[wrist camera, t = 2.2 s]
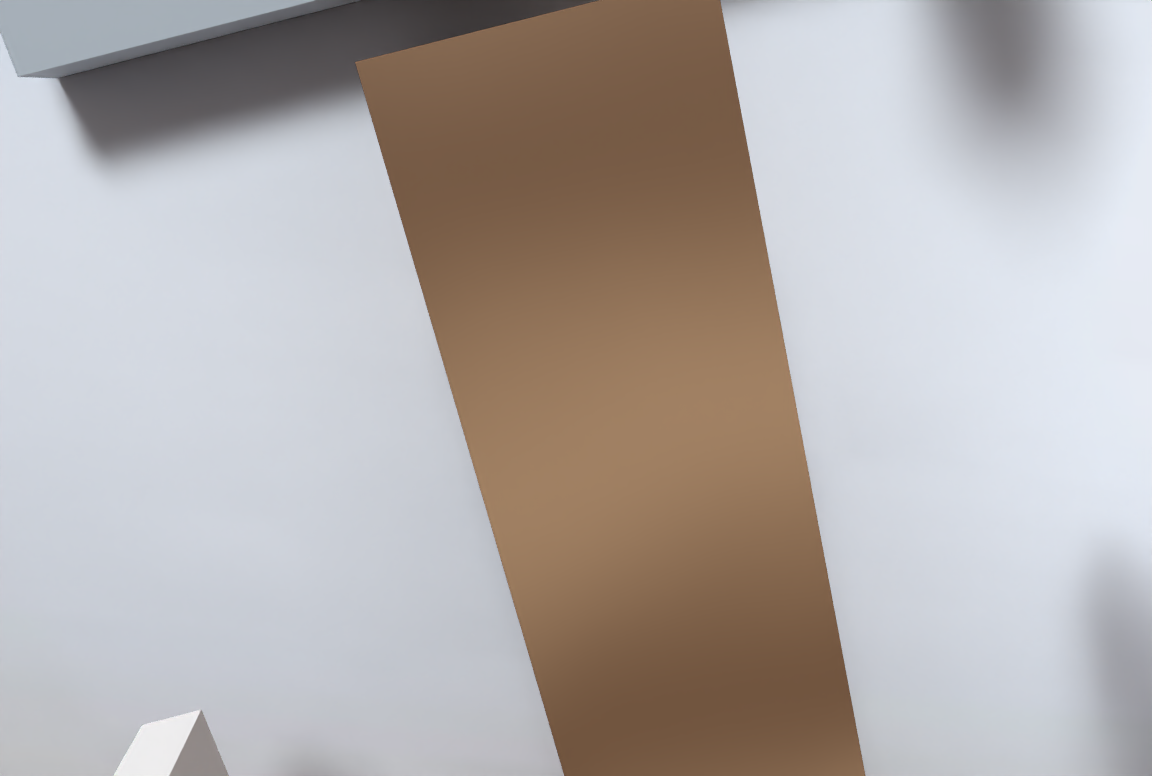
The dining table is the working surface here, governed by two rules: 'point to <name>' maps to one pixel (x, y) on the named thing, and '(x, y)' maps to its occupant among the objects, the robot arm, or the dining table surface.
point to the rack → (126, 28)
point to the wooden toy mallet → (623, 383)
